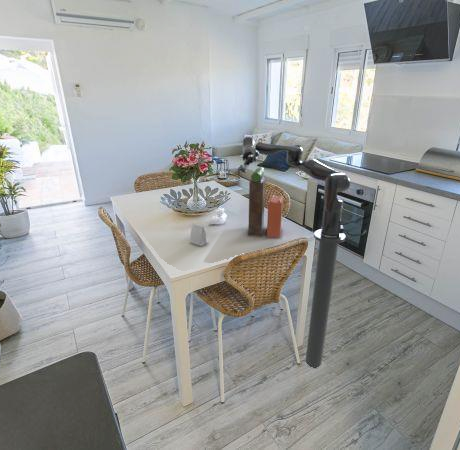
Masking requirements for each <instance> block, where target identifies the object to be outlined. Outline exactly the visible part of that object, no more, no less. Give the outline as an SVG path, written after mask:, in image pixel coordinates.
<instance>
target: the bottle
mask: <svg viewBox="0 0 460 450" xmlns="http://www.w3.org/2000/svg"><path fill="white" fill-rule="evenodd" d="M264 170H265V169H264V167H263V166H260V167H258V168H256V169H255V170H254V171H253V173H251V176H250V178H251V179H252V181H254V182H258V181H260V179H261V178H262V176H263V177H264ZM251 179H250V180H251Z"/></svg>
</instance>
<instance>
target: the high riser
mask: <svg viewBox="0 0 460 450" xmlns="http://www.w3.org/2000/svg"><path fill="white" fill-rule="evenodd" d="M248 184H249V186H248V188H249V189H248V190H249V191H248V231H247V232H248V233H247V235H248V236H253V237H262V234H263V231H264V226H265V225H264V223H265V201H266V199H265V198H266V177H265V176H264V175H263V176H262V178H261V179H260V181H258V182H254V181H252V179H250V180H249V183H248Z"/></svg>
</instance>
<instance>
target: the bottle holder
mask: <svg viewBox="0 0 460 450" xmlns="http://www.w3.org/2000/svg"><path fill="white" fill-rule="evenodd" d="M267 202H268V203H267V221H266V223H267V224H266V237H267V238H276V239H277V238H278V239H280V238H281V231H282V218H283V204H284V196H282V195H274V194H271V195H270V196H269V199H268V201H267Z"/></svg>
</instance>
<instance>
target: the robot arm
mask: <svg viewBox="0 0 460 450" xmlns="http://www.w3.org/2000/svg"><path fill="white" fill-rule="evenodd" d="M254 144H255V141H254V138H252V137H251V136H246V137H243V139H242V148H241V151H242V160H243V163H242V164H240V165H239V171H240V172H242V173H245V174H246V173H247V171H248V170H247V169H248V168H249V166H251V164H253V163H254V162H255V163H256V162H257V160H258V157H259V156H260V155H264V156H272V155H275V154H277V153H279V152H280V153H281V152H286V164H287V165H289V166H291V167H293V168H296V169H297V170H299V171H301V172H303V173H304V174H306V175H307V176H309V177H311V178H312V179H314V180H318V181H323V182H324V189H323V190H324V191H323V199H324V203H323V204H324V206H323V212H322V213H323V214H322V221H321V226H320V229H321V235H322V236H324V237H327V238H339V235H340V233H341V234H344V232H346V234H347V235H349V236H354V237H359V236H364V235H365V234H366V233H367V229H365V230H364V231H363V233H359V234H357V233H356V234H353V233H350V232H349V230H348V229H346V228H345V227H344V225H343V224H342V216H343V215H342V214H343V208H344V207H343V206H344V199H342V198H340V197H338V193H342V192H346V191H347V190H348V189H349V188H350V187H351V180H350V178H349V177H348V175H346V173H343V172H341V171H338V170H334V169H332V168H331V167H329V166H327V165H325V164H323V163H322V162H320V161H318V160H316V159H313V158H311V159H307V160H305V161H302V159H303V153H304V149H303V148H302V147H300V146H296V145H285V144H271V143H267V142H262V141H261V142H260V141H258V142H256V144H255V145H254ZM254 146H255V147H254Z"/></svg>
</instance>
